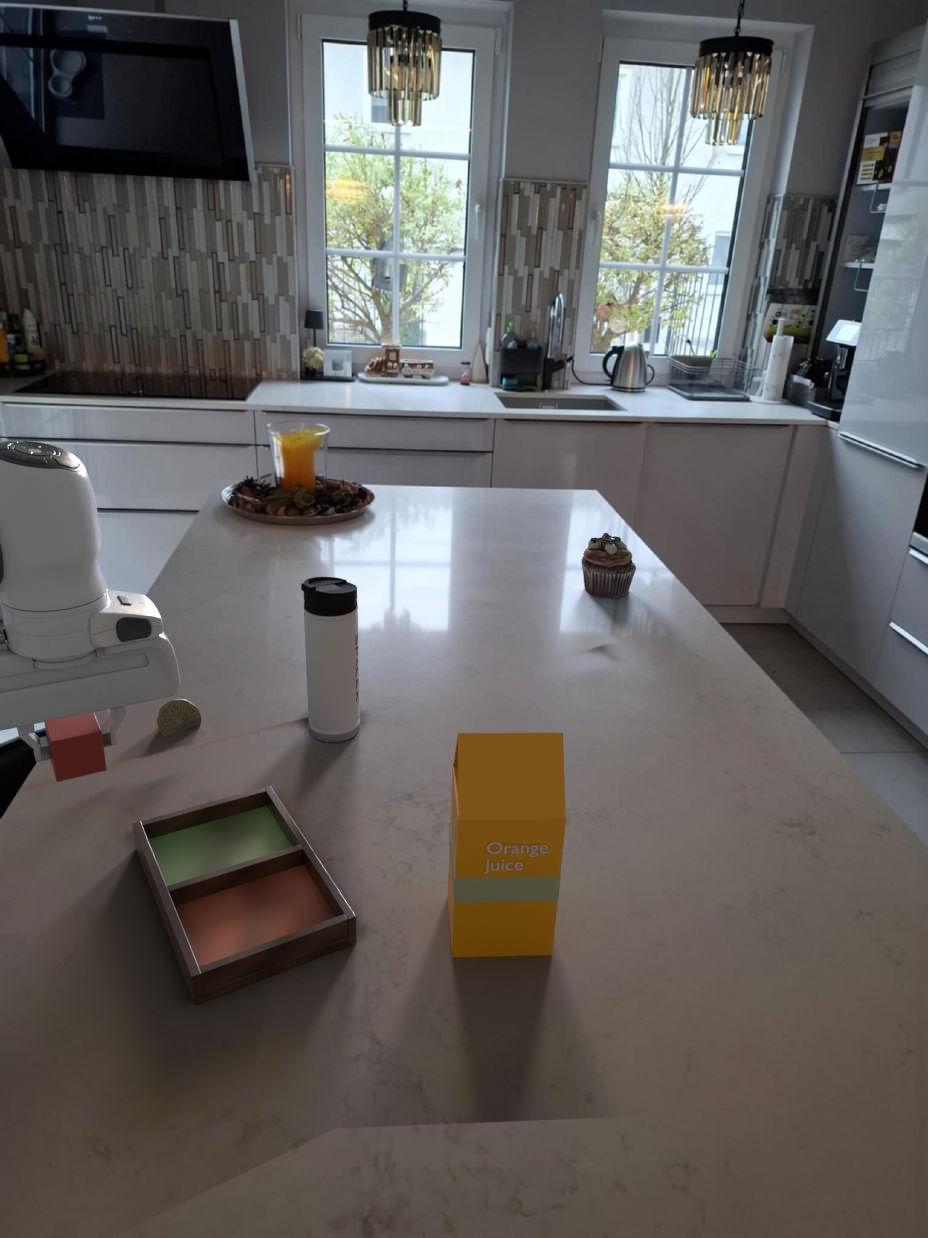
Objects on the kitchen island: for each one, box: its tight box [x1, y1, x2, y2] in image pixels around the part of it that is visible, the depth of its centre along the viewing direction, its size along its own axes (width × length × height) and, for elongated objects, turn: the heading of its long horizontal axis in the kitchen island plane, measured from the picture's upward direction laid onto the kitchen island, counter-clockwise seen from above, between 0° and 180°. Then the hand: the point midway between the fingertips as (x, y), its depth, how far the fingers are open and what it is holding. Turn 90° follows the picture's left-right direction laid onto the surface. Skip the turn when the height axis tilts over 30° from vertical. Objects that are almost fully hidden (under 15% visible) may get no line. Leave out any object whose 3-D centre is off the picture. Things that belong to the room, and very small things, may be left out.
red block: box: [43, 712, 107, 783], centre depth 85 cm, size 4×4×4 cm
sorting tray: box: [132, 785, 358, 1006], centre depth 80 cm, size 14×22×3 cm, turn 31°
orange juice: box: [447, 732, 567, 958], centre depth 74 cm, size 8×9×20 cm
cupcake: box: [580, 532, 637, 599], centre depth 154 cm, size 10×10×10 cm
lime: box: [156, 698, 202, 737], centre depth 104 cm, size 4×5×5 cm
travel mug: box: [300, 576, 361, 743], centre depth 104 cm, size 6×7×20 cm
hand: (76, 750), depth 85 cm, fingers closed on red block, 4 cm apart
